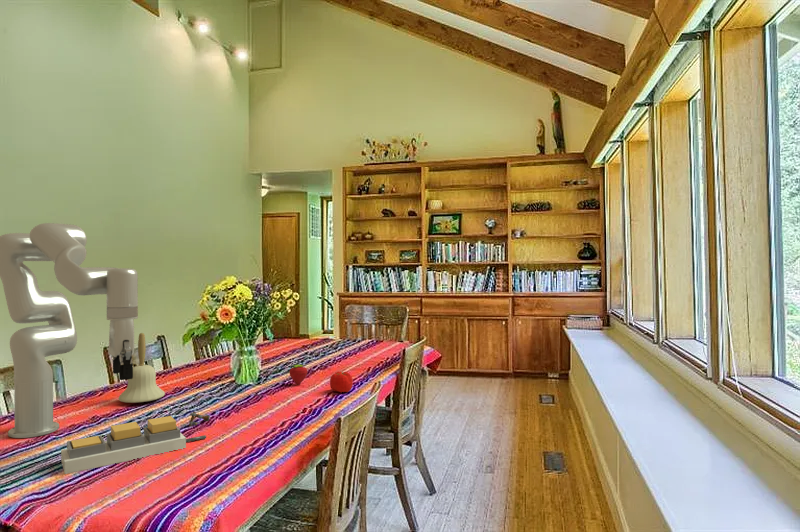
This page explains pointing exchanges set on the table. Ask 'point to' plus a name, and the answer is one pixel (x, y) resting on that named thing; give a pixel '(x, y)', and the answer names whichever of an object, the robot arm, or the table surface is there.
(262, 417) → the table surface
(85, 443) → the button left
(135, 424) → the button middle
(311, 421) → the table surface
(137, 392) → the handbell
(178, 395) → the table surface
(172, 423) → the button right
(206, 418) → the wooden post with brackets
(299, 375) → the strawberry
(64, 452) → the strip
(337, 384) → the tomato
